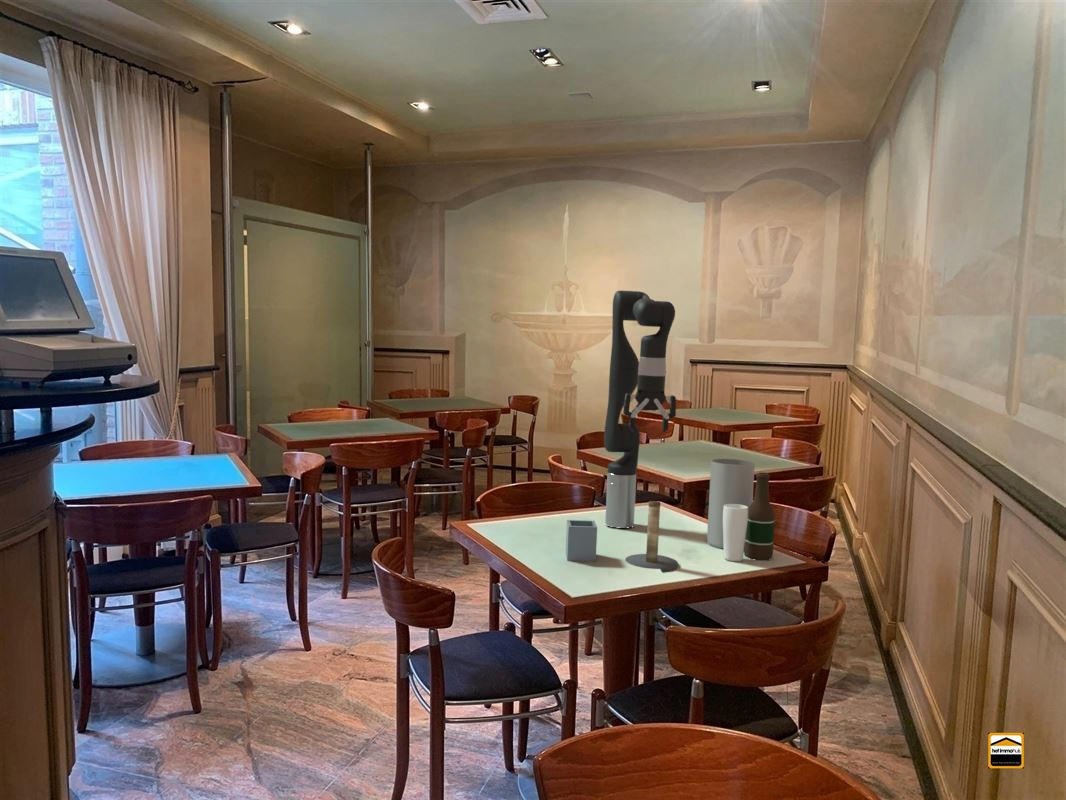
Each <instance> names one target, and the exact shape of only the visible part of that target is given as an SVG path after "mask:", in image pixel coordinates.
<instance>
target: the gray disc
mask: <svg viewBox="0 0 1066 800" xmlns="http://www.w3.org/2000/svg"><path fill="white" fill-rule="evenodd" d="M625 562H626V563H627V564H629V565H632V566H635V567H638V568H644V569H650V570H651V569H652V570H660V571H661V572H662V571H666V572H670V571H669V570H672V571H674V570H673V569H675V570H677V569H678V568H679V562H678V561H677V560H676V559H674V558H671V557H669V556H665V555H661V554H658V558H657V562H656V563H650V562H647V561H646V553H639V554H638V553H637V554H631V555H629V556H627V557H625ZM677 567H678V568H677ZM676 568H677V569H676Z"/></svg>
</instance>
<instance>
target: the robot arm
mask: <svg viewBox="0 0 1066 800" xmlns="http://www.w3.org/2000/svg"><path fill="white" fill-rule="evenodd" d="M675 317H676V309H675V306H674V305H673V303H672V302H670V301H666V300H665V301H664V300H662V301H659V300H654V299H651V298H650V296H649V295H648V294H647V293H646V292H645V291H644V292H643V291H637V290H636V291H635V290H617V291H615V293H614V296H613V299H612V322H611V323H612V326H611V327H612V335H611V337H612V338H611V351H610V361H609V363H610V364H609V378H608V402H607V408H606V409H607V410H606V417H605V425H604V431H603V432H604V433H603V444H604V448H605V450H606V451H607V452H609V453H623V455H622V456H621V457H619V458H618V459H617V460H614V461H612V462H609V463H608V465H607V473H606V474H607V476H606V477H607V479H606V496H605V497H606V499H605V501H606V503H605V520H604V521H605V522H604V523H606V524H607V525H609V526H612V527H620V528H627V527H632V526H634V527H635V508H636V507H635V505H636V490H637V489H636V485H637V468H638V463H639V462H638V461H639V451H640V441H641V440H640V439H641V436H640V435H641V433H640V428H639V427H638V425H637V424H636V423H637V422H636V421H637V420H636V416H637V415H638V414H639V413H640V412H641V411H642V410H643V411H657V410H658V412H659V413H660V414H661V416H662V417H663V418H662V422H661V432H662V433H665V434H666V432H667V431H668V430H669V422H670V419H672V418H675V417H676V415H677V410H676V409H677V406H676V405H677V402H676V401H677V397H676V396H675V395H673V394H671V395H666V394H665V387H666V374H667V363H666V358H667V357H666V356H667V345H668V343H667V342H668V339H669V338H668V337H669V335H670V331H671V328H672V326H673V323H674V320H675ZM624 321H632V322H636V323H637V324H638V325H639V326H642V327H649V328H650V327H655V328H659V329H658V330H657V332H656V333H654V334H648V335H644V336H642V338H641V340H640V347H639V348H640V353H639V356H640V357H639V359H638V356H637V354H636V352H635V351H634V349H633V347H632V345H631V344H630V342H629V339H628V337H627V335H626V334H627V333H626V332H625V326H624ZM635 390H636V393H635V394H633V393H634V392H635ZM634 399H635V401H636V402H637V404H636V405H635V406H634V407H633V409H632V411H630V406H631V403H632V402H633V401H634ZM666 401H667V404H669V413H668V412H667V411H666V409H665V408H664V407H663V404H664V403H665V402H666ZM622 410H623V411H622ZM621 412H622V413H623V415H625V416H627V417H629V422H628V423H619V422H620V417H621V414H622V413H621ZM632 528H633V527H632Z"/></svg>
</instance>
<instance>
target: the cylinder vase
mask: <svg viewBox="0 0 1066 800" xmlns="http://www.w3.org/2000/svg"><path fill="white" fill-rule="evenodd" d="M709 476H710V477H709V479H710V480H709V497H708V511H707V512H708V515H707V516H708V517H707V534H706V535H707V536H706V541H707V544H709V545H710V546H712V547H715V548H718V549H722V548H723V550H724V547H723V508H724V505H725V504H739V505H744V506H747V507H748V508H749V506H750V505H751V504H752V502H753V501H754V481H755V462H754V461H751V460H750V461H749V460H745V459H739V458H738V459H735V458H715V459H714V458H713V459H710V474H709ZM744 547H745V545H744Z"/></svg>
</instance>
